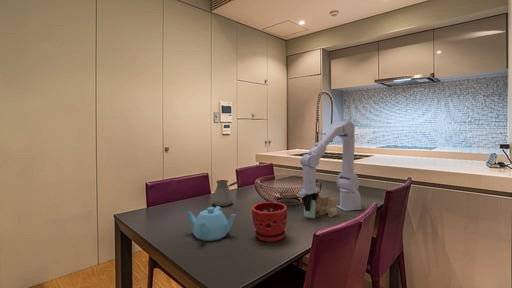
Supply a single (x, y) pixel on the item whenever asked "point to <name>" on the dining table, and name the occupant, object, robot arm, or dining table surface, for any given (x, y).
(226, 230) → the teapot
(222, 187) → the coffee pot
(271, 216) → the plant pot
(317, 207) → the domino
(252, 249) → the dining table surface
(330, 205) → the domino
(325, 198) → the domino
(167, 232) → the dining table surface
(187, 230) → the dining table surface
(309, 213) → the teal domino
